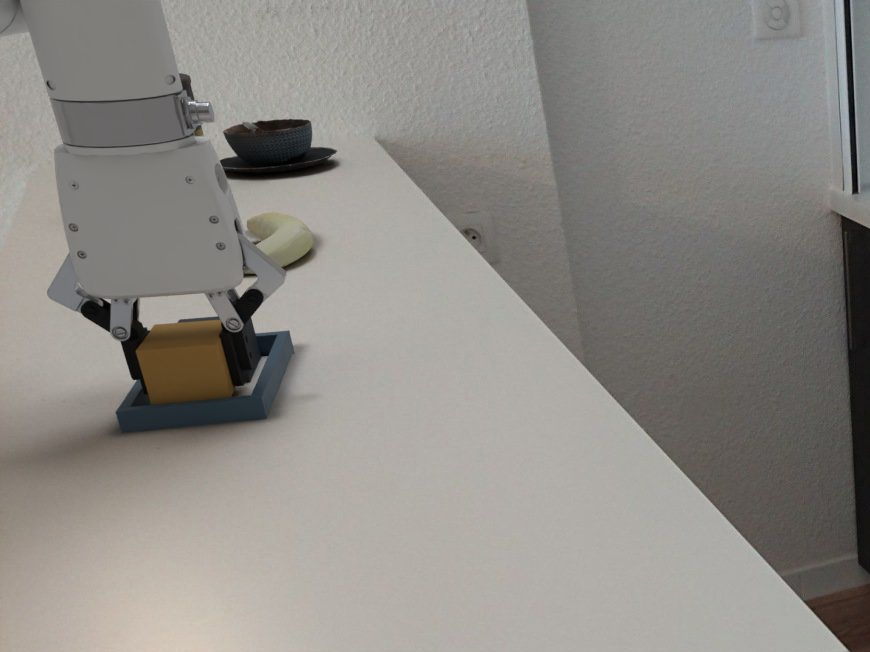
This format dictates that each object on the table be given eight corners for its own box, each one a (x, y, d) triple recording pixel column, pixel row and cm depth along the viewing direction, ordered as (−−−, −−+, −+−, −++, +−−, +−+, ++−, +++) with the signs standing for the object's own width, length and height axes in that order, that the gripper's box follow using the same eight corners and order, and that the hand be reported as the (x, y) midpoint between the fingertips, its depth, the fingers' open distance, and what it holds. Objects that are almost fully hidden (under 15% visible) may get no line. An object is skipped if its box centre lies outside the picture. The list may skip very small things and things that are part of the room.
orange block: (230, 398, 91) (216, 344, 89) (151, 405, 89) (135, 350, 87) (243, 370, 96) (230, 318, 94) (168, 376, 94) (153, 324, 92)
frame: (270, 430, 91) (261, 397, 90) (125, 445, 89) (114, 411, 87) (296, 359, 104) (289, 330, 103) (171, 371, 102) (162, 341, 101)
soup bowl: (363, 159, 176) (351, 103, 172) (283, 184, 162) (269, 123, 158) (269, 154, 178) (255, 98, 175) (182, 177, 165) (166, 117, 161)
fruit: (324, 235, 139) (317, 205, 138) (308, 272, 127) (300, 238, 125) (251, 240, 137) (243, 209, 136) (227, 278, 125) (218, 244, 123)
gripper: (276, 108, 90) (331, 356, 98) (-7, 118, 85) (77, 378, 93) (260, 127, 83) (321, 390, 92) (-46, 138, 78) (47, 415, 87)
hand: (197, 381), depth 92 cm, fingers closed on orange block, 4 cm apart
